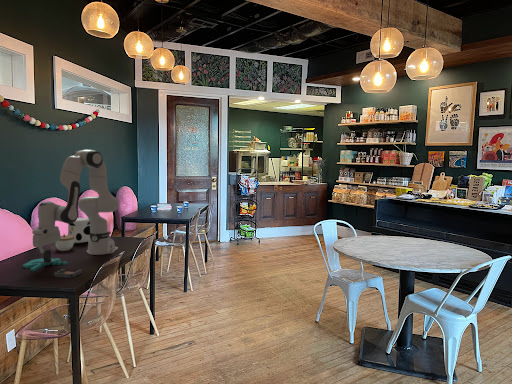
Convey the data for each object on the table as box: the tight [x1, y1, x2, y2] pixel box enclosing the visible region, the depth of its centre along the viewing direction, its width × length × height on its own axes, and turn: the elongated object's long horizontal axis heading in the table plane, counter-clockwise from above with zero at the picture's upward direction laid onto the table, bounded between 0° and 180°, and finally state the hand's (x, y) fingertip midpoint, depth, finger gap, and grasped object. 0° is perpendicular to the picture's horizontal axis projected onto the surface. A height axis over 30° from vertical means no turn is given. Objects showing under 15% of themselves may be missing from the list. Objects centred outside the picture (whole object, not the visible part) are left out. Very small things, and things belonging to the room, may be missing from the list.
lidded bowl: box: [55, 233, 75, 252], centre depth 267 cm, size 13×13×11 cm
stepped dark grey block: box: [40, 248, 55, 264], centre depth 228 cm, size 4×7×8 cm, turn 84°
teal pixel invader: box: [22, 257, 69, 272], centre depth 229 cm, size 20×2×20 cm
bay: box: [52, 268, 83, 279], centre depth 209 cm, size 9×11×2 cm
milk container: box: [67, 217, 90, 245], centre depth 290 cm, size 17×17×18 cm
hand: (47, 251), depth 229 cm, fingers open, 8 cm apart
